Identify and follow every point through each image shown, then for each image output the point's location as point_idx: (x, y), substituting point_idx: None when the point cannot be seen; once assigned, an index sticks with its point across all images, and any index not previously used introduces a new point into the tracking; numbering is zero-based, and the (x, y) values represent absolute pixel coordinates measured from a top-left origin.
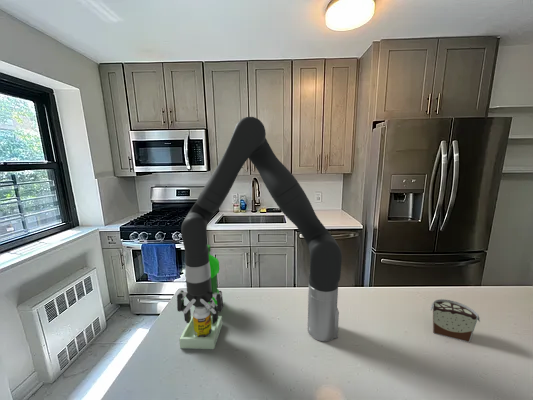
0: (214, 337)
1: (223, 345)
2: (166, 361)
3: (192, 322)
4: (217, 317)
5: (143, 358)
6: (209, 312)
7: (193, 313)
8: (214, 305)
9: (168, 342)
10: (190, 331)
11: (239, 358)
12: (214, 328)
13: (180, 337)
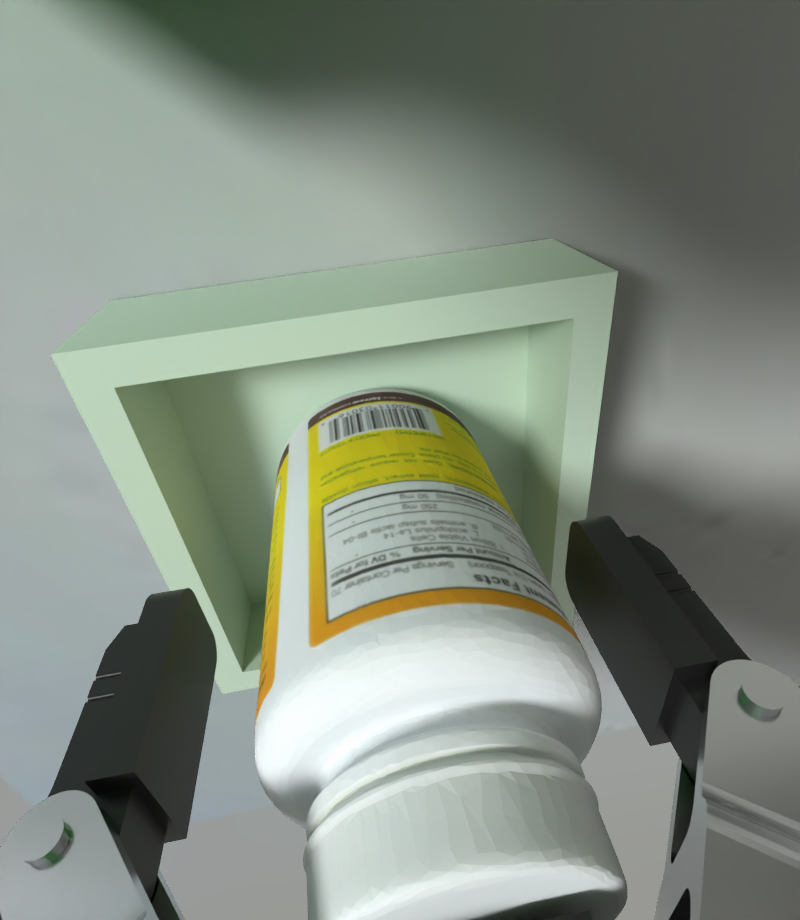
0: (573, 604)
1: (606, 508)
2: (216, 694)
3: (151, 404)
4: (660, 576)
5: (16, 718)
6: (595, 734)
7: (303, 827)
8: (774, 795)
9: (68, 586)
10: (209, 473)
11: (730, 571)
12: (487, 377)
13: (221, 683)
